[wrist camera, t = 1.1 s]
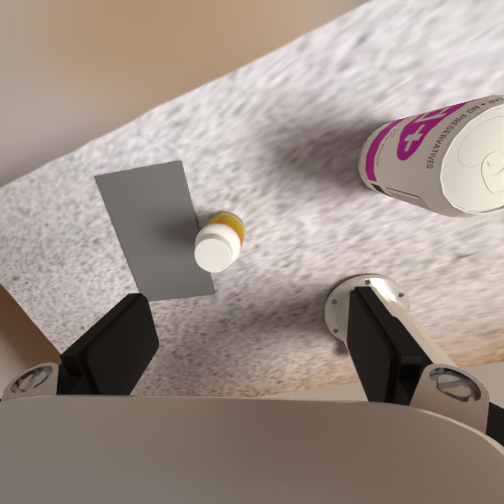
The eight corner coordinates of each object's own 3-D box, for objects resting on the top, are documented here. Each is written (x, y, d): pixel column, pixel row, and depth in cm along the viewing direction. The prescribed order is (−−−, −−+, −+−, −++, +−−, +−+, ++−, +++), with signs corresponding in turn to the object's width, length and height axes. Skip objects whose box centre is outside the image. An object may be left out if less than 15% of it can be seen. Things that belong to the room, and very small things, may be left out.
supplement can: (343, 151, 30) (410, 148, 16) (409, 104, 28) (553, 55, 14) (373, 204, 32) (455, 243, 18) (436, 165, 30) (584, 175, 16)
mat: (215, 292, 39) (214, 294, 38) (145, 300, 40) (143, 302, 39) (181, 160, 31) (180, 160, 31) (97, 176, 33) (94, 176, 32)
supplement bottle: (217, 204, 33) (198, 222, 24) (252, 221, 34) (246, 246, 25) (202, 236, 35) (180, 265, 26) (235, 253, 36) (225, 286, 27)
